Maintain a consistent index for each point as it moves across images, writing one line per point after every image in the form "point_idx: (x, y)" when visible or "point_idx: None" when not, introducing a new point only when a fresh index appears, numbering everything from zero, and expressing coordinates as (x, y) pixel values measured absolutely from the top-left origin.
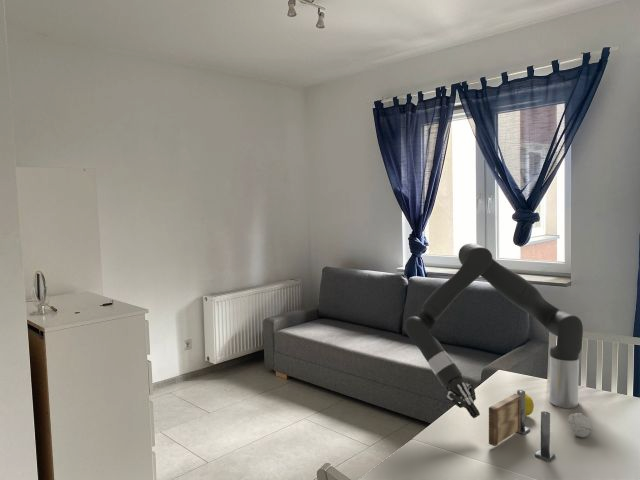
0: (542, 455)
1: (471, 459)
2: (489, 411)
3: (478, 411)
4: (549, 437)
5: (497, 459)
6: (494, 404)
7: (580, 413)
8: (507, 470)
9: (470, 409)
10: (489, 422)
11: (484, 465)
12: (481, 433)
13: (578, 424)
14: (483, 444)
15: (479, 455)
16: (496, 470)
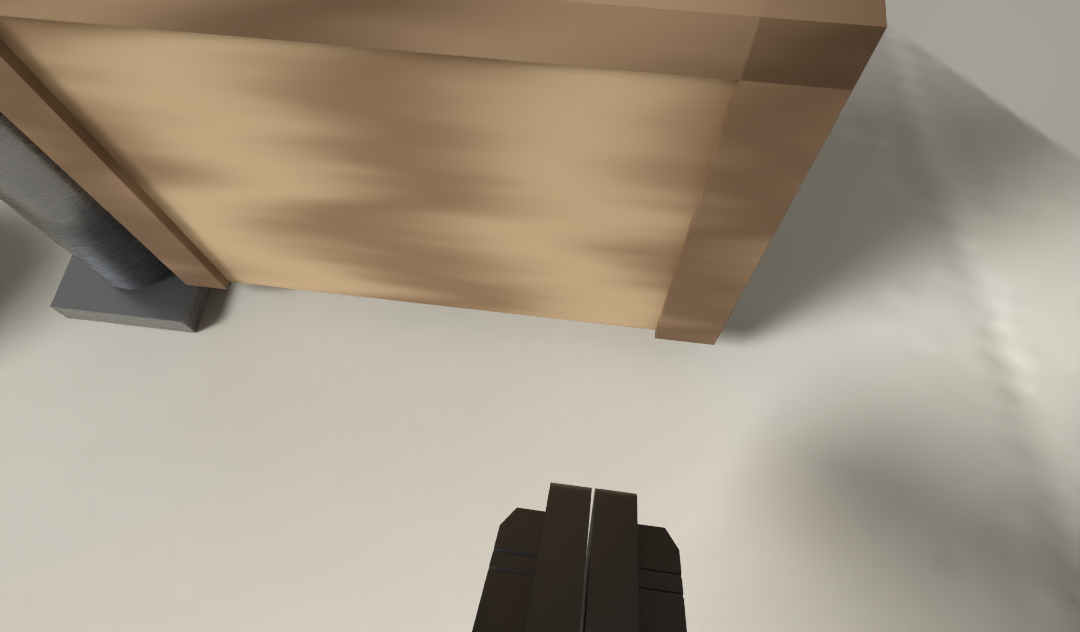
0: None
1: (1042, 391)
2: (850, 76)
3: (549, 504)
4: None
5: (836, 219)
6: (650, 3)
7: None
8: (923, 104)
9: (685, 626)
10: (783, 203)
11: (1022, 259)
12: (460, 559)
13: None
14: (682, 429)
15: (910, 365)
16: (999, 160)
